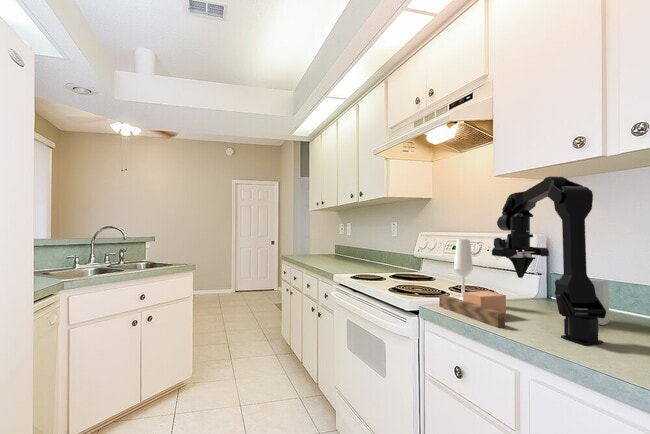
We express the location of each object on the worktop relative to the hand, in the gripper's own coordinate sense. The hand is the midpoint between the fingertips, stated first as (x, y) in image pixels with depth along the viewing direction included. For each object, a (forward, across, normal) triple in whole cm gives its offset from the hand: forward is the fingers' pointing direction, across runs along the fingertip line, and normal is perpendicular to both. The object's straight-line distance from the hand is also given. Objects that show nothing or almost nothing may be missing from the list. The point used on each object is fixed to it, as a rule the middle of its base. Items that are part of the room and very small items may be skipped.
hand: (520, 277), depth 119 cm
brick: (+12, +13, -2) cm, 18 cm away
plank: (+12, +19, -2) cm, 23 cm away
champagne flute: (+12, +7, -20) cm, 24 cm away
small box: (+12, -14, +13) cm, 23 cm away
